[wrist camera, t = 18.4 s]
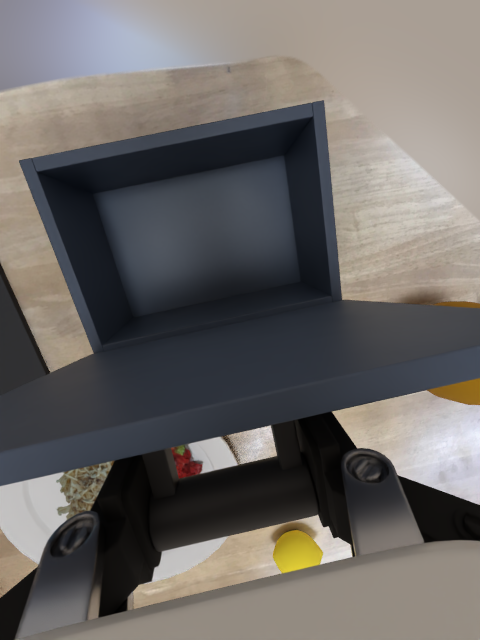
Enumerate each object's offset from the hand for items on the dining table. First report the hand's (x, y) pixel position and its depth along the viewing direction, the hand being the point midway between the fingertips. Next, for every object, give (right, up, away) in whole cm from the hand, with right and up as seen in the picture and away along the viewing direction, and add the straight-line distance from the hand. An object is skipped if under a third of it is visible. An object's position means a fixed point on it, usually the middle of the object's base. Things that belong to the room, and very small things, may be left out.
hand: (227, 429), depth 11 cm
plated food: (-14, -17, +24) cm, 33 cm away
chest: (-3, +13, +16) cm, 21 cm away
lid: (-1, +3, +2) cm, 4 cm away
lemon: (+8, -27, +29) cm, 40 cm away
